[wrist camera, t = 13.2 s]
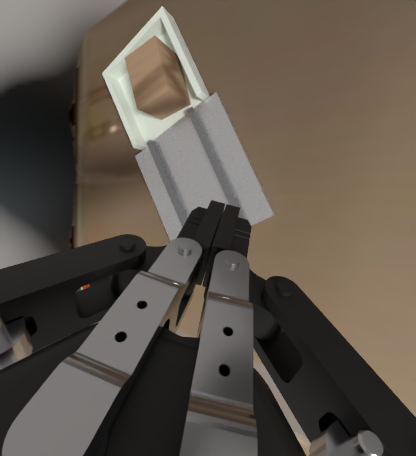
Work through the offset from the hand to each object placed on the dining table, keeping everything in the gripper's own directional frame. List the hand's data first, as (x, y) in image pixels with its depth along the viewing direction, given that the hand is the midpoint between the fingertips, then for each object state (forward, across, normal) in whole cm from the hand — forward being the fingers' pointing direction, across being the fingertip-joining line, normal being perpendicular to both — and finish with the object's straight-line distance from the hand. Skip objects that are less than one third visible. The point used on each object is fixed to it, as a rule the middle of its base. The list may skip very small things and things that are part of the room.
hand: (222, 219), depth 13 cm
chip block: (+30, -14, -2) cm, 33 cm away
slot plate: (+27, -6, -11) cm, 30 cm away
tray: (+36, -18, 0) cm, 40 cm away
